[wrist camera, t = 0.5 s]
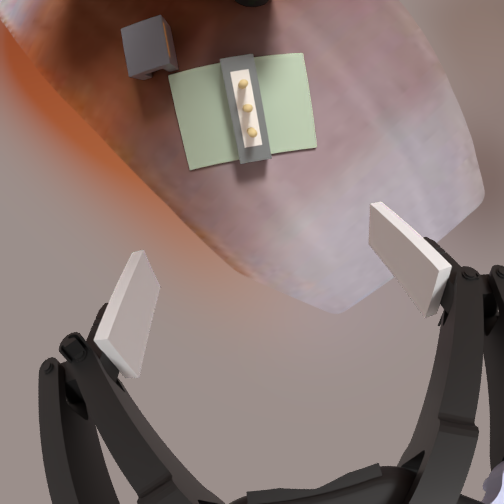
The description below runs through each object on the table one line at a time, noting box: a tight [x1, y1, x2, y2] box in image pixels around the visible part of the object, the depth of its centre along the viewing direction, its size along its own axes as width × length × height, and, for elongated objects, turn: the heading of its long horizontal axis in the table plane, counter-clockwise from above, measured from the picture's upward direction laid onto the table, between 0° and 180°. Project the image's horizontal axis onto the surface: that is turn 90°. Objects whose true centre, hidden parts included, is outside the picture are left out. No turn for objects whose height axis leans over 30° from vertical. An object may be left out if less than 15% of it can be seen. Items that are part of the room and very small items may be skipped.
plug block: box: [121, 15, 179, 80], centre depth 24 cm, size 7×5×6 cm
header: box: [168, 53, 317, 170], centre depth 30 cm, size 14×18×6 cm
